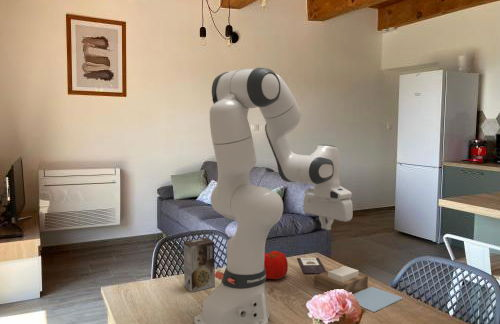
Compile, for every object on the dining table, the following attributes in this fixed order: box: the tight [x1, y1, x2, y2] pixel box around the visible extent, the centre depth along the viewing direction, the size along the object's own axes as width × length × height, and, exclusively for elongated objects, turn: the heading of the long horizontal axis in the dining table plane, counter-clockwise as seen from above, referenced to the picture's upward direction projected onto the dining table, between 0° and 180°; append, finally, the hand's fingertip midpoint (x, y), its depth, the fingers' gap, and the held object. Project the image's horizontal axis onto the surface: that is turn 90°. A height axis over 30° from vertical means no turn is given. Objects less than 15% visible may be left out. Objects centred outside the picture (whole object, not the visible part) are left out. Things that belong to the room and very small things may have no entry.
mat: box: [353, 286, 404, 313], centre depth 136 cm, size 16×12×1 cm
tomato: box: [264, 250, 289, 280], centre depth 155 cm, size 11×12×9 cm
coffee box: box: [183, 237, 216, 293], centre depth 145 cm, size 9×6×16 cm
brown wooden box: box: [313, 266, 369, 294], centre depth 146 cm, size 14×12×4 cm
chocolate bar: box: [296, 257, 327, 276], centre depth 167 cm, size 9×1×18 cm
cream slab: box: [327, 265, 360, 282], centre depth 145 cm, size 9×6×2 cm, turn 129°
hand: (326, 229), depth 149 cm, fingers closed
